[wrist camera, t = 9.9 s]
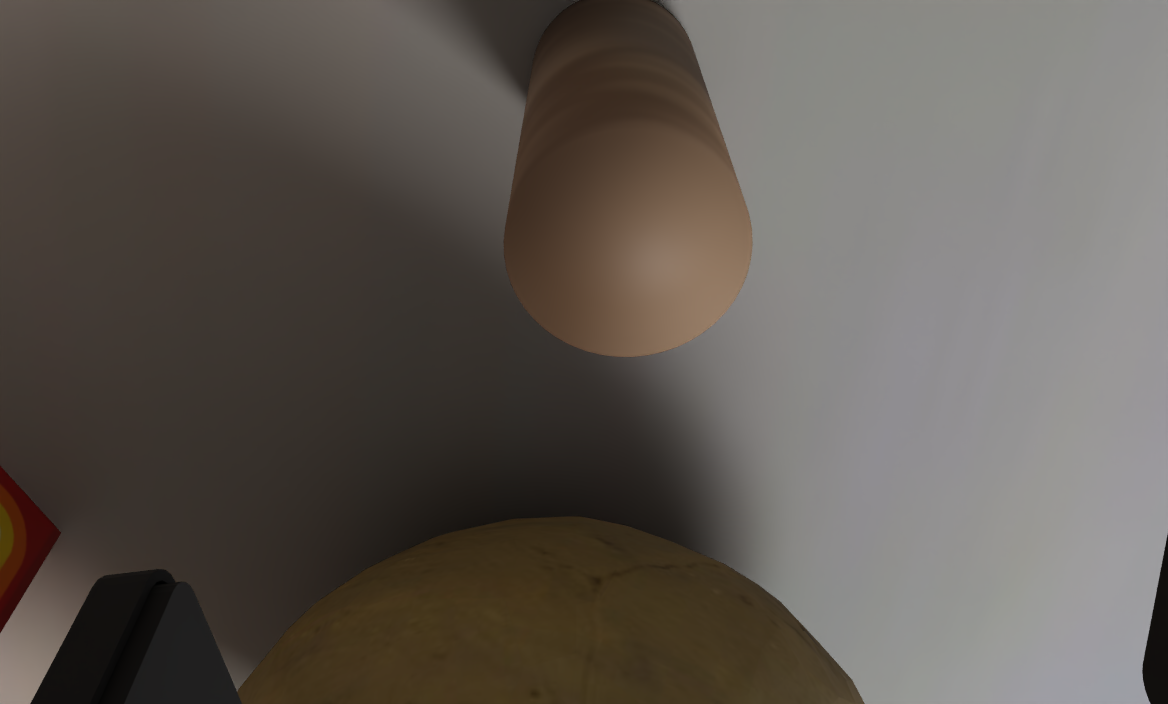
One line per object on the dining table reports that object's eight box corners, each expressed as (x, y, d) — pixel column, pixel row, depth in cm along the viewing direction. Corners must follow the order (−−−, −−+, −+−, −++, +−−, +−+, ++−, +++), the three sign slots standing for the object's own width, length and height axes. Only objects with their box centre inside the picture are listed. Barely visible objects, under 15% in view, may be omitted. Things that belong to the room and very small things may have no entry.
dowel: (685, -23, 25) (737, 108, 16) (707, 141, 27) (764, 336, 18) (516, 10, 25) (478, 154, 16) (549, 169, 27) (531, 373, 18)
